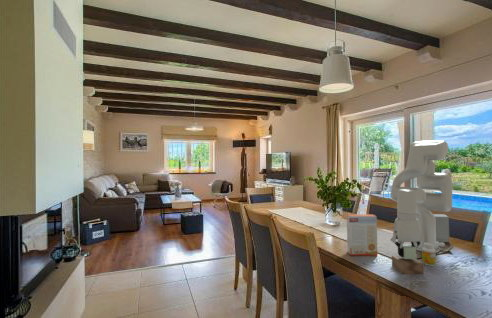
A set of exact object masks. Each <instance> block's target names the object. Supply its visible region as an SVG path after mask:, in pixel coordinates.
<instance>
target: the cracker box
mask: <svg viewBox="0 0 492 318" xmlns="http://www.w3.org/2000/svg"><path fill="white" fill-rule="evenodd" d="M346 243H347V245H346V246H347V247H346V248H347V249H346V250H347V253H348V254H349V256H364V257H366V256H369V257H377V256H378V217H377V216H376V214H373V213H372V214H370V213H369V214H367V213H366V214H365V213H363V214H361V213H360V214H358V213H356V214H355V213H351V214H350V213H347V214H346Z"/></svg>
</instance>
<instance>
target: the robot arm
mask: <svg viewBox="0 0 492 318" xmlns="http://www.w3.org/2000/svg"><path fill="white" fill-rule="evenodd" d="M448 152H449V144H448V143H447V141H445V140H442V139H441V140H420V141H419V140H418V141H413V142H412V143H410V144H409V151H408V157H407V160H406V161H407V162H406V167H405V169H403V170H402V171H400V172H399V173H398V174H396V176H395V177H394V179H393V181H392V185H391V190H390V197H391V200H392V201H394V202H396V203H397V204H396V206H397V207H396V208H397V209H396V212H397V214H396V215H397V217H396V218H394V219H395V220H394V223H393V230H392V231H393V233H392V234H393V235H392V237H391V238H390V241H391V242H392V243H393V244H395V245H396V247H397V254H398V256H401V257H404V249H403V244H405V243H410V245H412V246H414V247H416V251H419V252H422V248H423V247H424V243H432V244H434V249H435V251H436V253H437V254H438V253H439V252H440V248H439V247H445V246H446V244H445V243H446V242H436V219H435V216H434V215H433V214H434V213H433V212H432V211H436V212H446V213H447V212H450V211H451V210H452V208H453V179H452V177H451V175H450V174H449V173H444V172H436V164H435V161H441V160H443V159H444V158H445V157H446V156H447V154H448ZM412 179H415V181H416V186H417V187H410V186H409V187H408V186H402V184H403V183H405V182H407V181H410V180H412ZM425 190H426V191H425ZM428 191H430V192H428ZM431 191H439V193H438V192H431ZM440 192H441V193H440Z"/></svg>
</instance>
